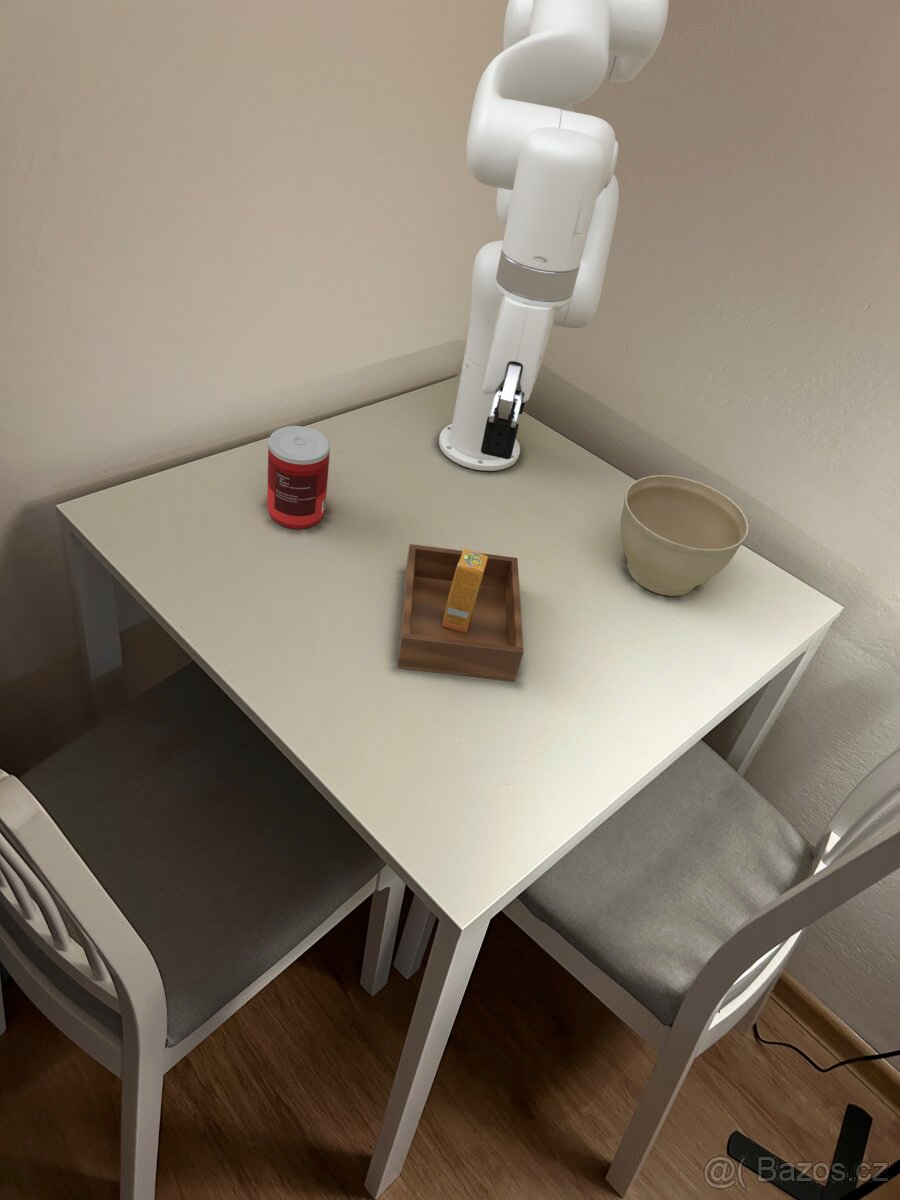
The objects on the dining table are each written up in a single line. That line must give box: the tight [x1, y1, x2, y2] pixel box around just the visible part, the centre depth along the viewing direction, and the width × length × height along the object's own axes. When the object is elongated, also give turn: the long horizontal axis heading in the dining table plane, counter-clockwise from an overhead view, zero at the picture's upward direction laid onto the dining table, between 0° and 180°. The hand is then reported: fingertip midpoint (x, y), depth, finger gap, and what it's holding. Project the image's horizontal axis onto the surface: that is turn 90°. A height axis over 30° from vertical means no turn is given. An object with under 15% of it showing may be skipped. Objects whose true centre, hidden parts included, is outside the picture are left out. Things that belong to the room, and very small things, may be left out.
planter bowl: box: [619, 474, 750, 597], centre depth 119 cm, size 16×16×11 cm
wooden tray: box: [396, 543, 524, 682], centre depth 107 cm, size 17×14×5 cm
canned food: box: [266, 425, 331, 530], centre depth 116 cm, size 8×8×11 cm
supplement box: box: [442, 548, 488, 633], centre depth 105 cm, size 3×3×10 cm
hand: (502, 432), depth 96 cm, fingers open, 9 cm apart
